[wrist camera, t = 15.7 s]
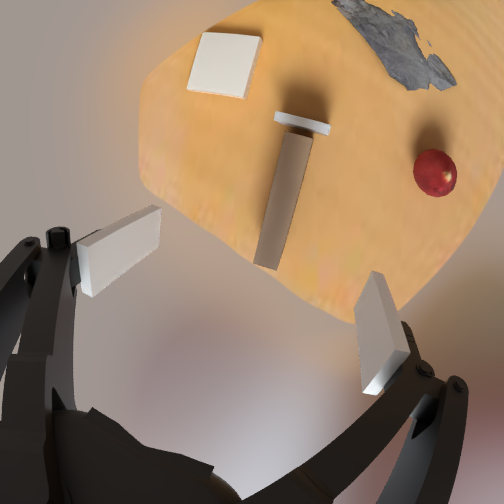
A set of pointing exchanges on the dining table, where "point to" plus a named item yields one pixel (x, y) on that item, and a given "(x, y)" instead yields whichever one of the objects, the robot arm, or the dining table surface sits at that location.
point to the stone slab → (396, 45)
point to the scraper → (285, 188)
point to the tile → (225, 64)
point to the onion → (435, 173)
